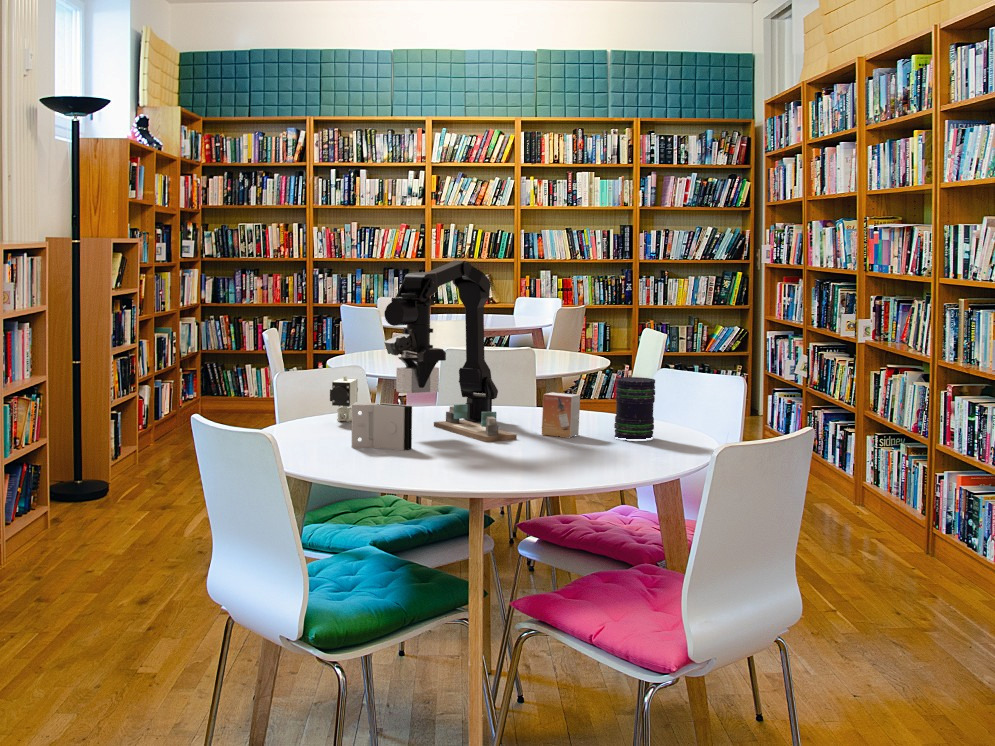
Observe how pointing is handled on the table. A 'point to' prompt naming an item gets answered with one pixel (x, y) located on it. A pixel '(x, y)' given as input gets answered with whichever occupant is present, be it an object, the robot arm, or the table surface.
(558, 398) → the small box
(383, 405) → the hinge
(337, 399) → the pneumatic valve
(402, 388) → the block
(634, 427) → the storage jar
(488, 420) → the shaft coupling stand
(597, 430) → the table surface
